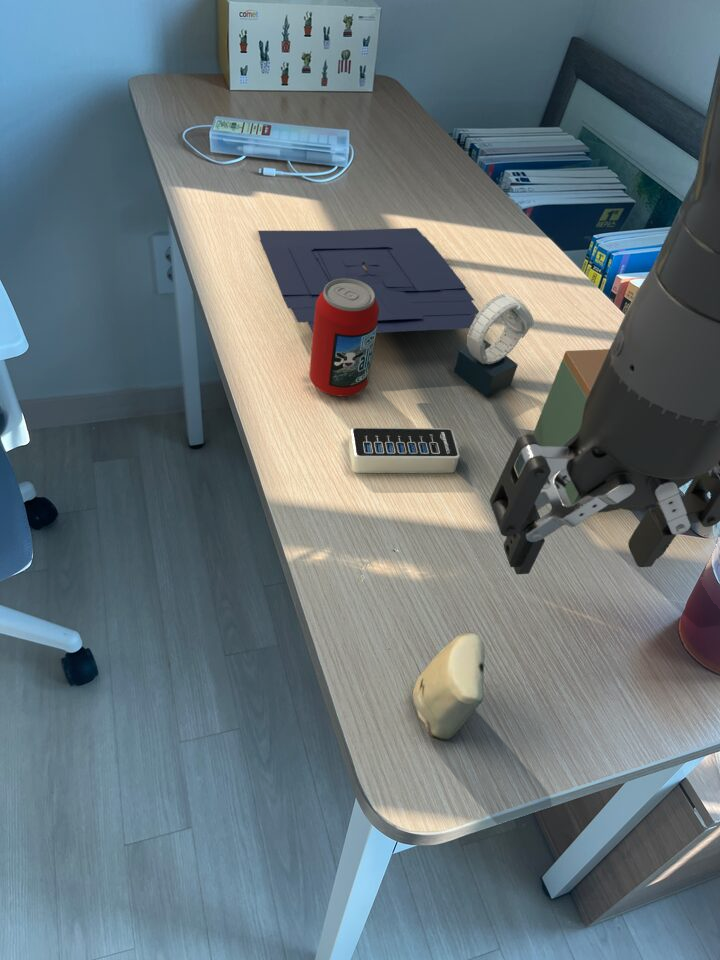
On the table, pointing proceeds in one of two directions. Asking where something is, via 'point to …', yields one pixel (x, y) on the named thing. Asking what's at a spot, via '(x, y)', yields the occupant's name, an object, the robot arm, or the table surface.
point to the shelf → (568, 401)
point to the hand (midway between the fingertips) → (578, 559)
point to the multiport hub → (403, 450)
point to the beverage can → (343, 337)
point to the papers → (371, 275)
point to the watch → (493, 345)
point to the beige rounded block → (451, 686)
